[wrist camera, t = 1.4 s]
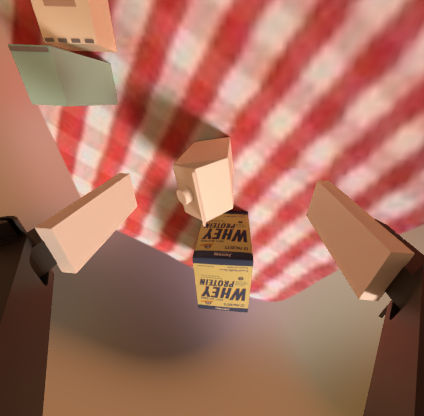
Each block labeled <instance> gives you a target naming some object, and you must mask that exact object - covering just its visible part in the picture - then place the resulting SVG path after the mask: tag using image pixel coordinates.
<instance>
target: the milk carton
mask: <svg viewBox="0 0 424 416" xmlns="http://www.w3.org/2000/svg"><path fill="white" fill-rule="evenodd" d="M173 169H174V173H175V177H176V180H177V184H178V188H179V189H177V191H176V193H177V197H178V199H179V201H180V202H181V203H182V204H183V206H184V210H185V212H186V213H188V214H190V215H192V216H194V217H196V218H198V219H200V220H202V222H203V226H204V227H205V226H206V222H207V221H209V220H211V219H213V218H215V217H217V216H219V215H221V214H223V213H225V212H227V211H229V210H231V209H233V161H232V151H231V141H230V137H225V138H218V139H211V140H205V141H198V142H194V143H193V144H192V145H191V146H190V147H189V148H188V149H187V150H186V151H185V152H184V153H183V154H182V156H181V157H180V158H179V159H178V160H177V161H176V162H175V163H174V164H173Z"/></svg>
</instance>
